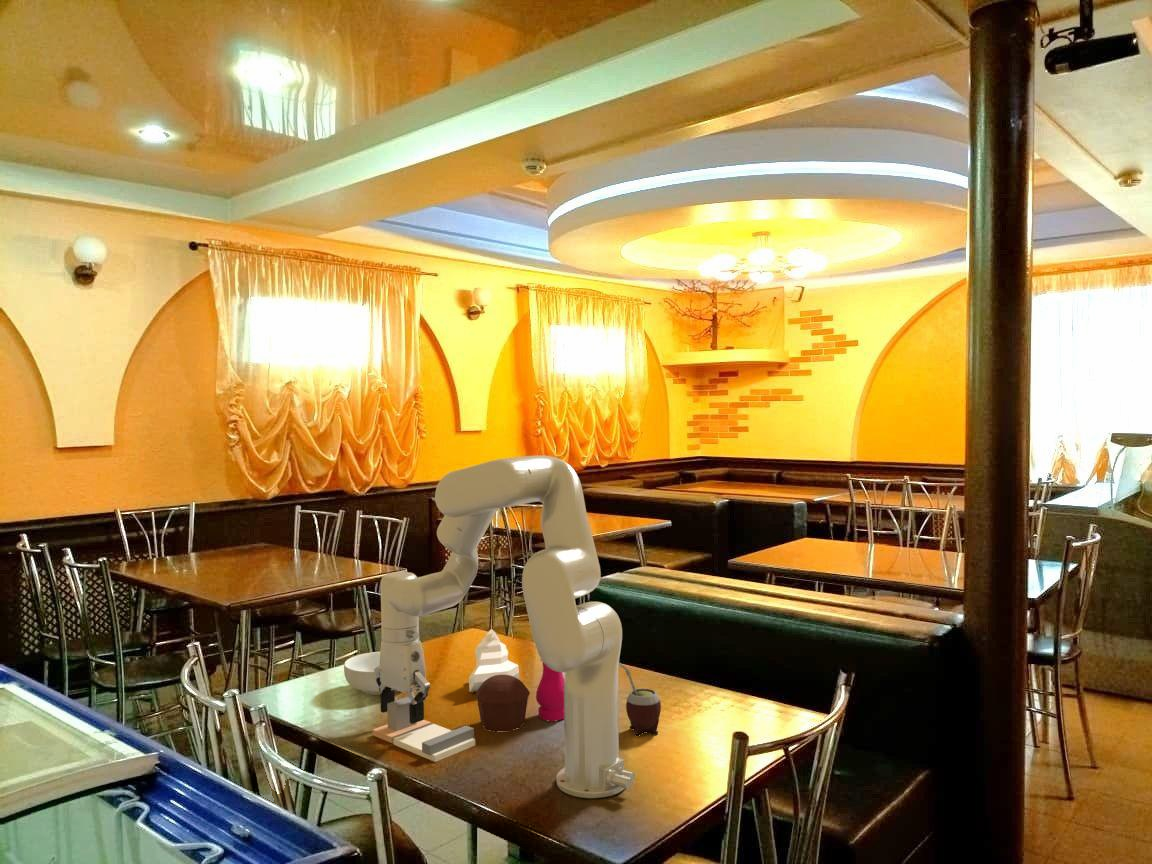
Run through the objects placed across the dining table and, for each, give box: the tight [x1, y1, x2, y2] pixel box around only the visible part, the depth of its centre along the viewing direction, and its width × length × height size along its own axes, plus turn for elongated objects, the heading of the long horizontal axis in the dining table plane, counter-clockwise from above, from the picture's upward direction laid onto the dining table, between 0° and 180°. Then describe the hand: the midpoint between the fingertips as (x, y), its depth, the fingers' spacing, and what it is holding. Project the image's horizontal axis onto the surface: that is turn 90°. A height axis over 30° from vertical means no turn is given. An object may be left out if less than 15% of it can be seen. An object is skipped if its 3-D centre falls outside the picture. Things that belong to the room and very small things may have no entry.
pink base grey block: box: [372, 696, 432, 744], centre depth 168 cm, size 6×10×6 cm, turn 139°
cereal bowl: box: [343, 651, 396, 696], centre depth 194 cm, size 17×17×7 cm
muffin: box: [474, 675, 531, 733], centre depth 171 cm, size 12×11×10 cm
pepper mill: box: [535, 658, 565, 722], centre depth 175 cm, size 7×7×20 cm
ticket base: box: [392, 722, 476, 763], centre depth 161 cm, size 13×11×3 cm
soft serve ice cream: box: [468, 628, 520, 693], centre depth 196 cm, size 12×15×14 cm
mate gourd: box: [619, 662, 662, 737], centre depth 166 cm, size 8×8×15 cm
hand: (402, 716), depth 168 cm, fingers open, 9 cm apart
